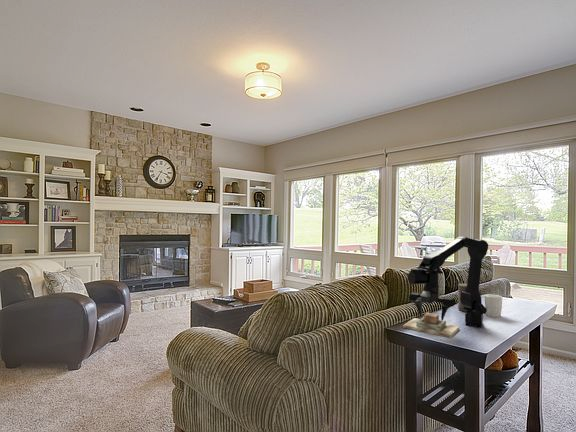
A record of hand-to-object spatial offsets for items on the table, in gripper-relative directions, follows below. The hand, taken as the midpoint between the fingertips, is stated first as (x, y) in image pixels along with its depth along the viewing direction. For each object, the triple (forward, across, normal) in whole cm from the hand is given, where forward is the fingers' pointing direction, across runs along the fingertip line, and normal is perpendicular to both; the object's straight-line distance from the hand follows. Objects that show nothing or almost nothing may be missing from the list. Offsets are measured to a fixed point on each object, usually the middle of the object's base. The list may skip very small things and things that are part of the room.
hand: (431, 318), depth 158 cm
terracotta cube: (+3, 0, 0) cm, 3 cm away
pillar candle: (+5, +6, +44) cm, 45 cm away
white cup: (+5, +18, +42) cm, 46 cm away
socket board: (+4, 0, 0) cm, 4 cm away
